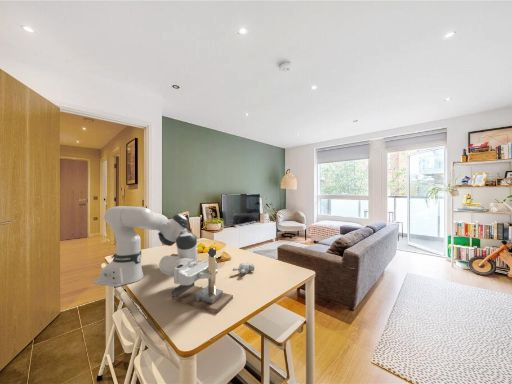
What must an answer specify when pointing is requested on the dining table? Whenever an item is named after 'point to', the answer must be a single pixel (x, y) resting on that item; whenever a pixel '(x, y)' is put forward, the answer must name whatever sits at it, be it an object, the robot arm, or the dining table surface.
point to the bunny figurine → (245, 268)
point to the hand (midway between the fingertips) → (213, 274)
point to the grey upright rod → (210, 282)
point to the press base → (188, 296)
